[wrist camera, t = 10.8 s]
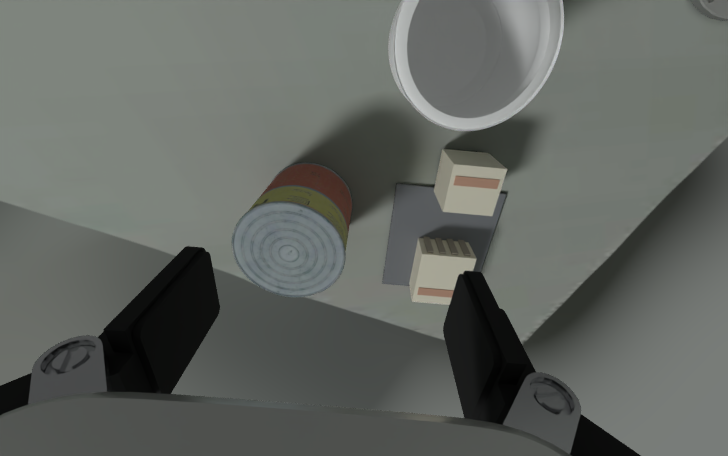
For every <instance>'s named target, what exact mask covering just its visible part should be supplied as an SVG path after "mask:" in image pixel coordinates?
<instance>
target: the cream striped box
mask: <svg viewBox="0 0 728 456" xmlns="http://www.w3.org/2000/svg"><path fill="white" fill-rule="evenodd" d="M476 260H477V258H476V256H475V254H474V252H473V250H472V248H471V246H470V244H469V242H465V241H464V240H458V241H453V239H446V240H441V238H435V239H430V237H423V238H418V242H417V247H416V252H415V257H414V262H413V267H412V272H411V277H410V282H409V285H410V291H411V298H412V302H422V303H434V304H446V305H450V302H451V299H452V295H453V292H454V288H455V285H456V281H457V278H458V275H459V274H463V273H464V271H473V269H474V266H475V263H476Z"/></svg>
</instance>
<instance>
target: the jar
mask: <svg viewBox="0 0 728 456" xmlns="http://www.w3.org/2000/svg"><path fill="white" fill-rule="evenodd" d="M563 28H564V8H563V0H402V1H401V3H400V4H399V6H398V8H397V11H396V13H395V16H394V18H393V22H392V25H391V29H390V35H389V46H388V51H389V62H390V67H391V71H392V74H393V77H394V79H395V82H396V84H397V86H398V87H399V89H400V91H401V92H402V94H403V95H404V96H405V97H406V99H407V100H408V101H409V102H410V103H411V104H412V106H413V107H414V108H415V109H416V110H417V111H418V112H419V113H420V114H421V115H422V116H424V117H425V118H426V119H428V120H429V121H431V122H432V123H434V124H436V125H438V126H441V127H443V128H447V129H450V130H456V131H476V130H482V129H486V128H489V127H492V126H495V125H497V124H500V123H502V122H504V121H505V120H507V119H509V118H511V117H512V116H514V115H515V114H516V113H518V112H519V111H520V110H521V109H523V108H524V107H525V106H526V105H527V104H528V103H529V102H530V101H531V100H532V99H533V98H534V97H535V95H536V94H537V93H538V92H539V90H540V89H541V88H542V86H543V85H544V83H545V82H546V80H547V78H548V76H549V75H550V73H551V71H552V69H553V66H554V64H555V62H556V59H557V56H558V53H559V50H560V46H561V42H562V36H563Z"/></svg>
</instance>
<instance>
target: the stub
mask: <svg viewBox="0 0 728 456" xmlns="http://www.w3.org/2000/svg"><path fill="white" fill-rule="evenodd" d="M506 172H507V168H505V167H504V166H503V165H502V164H501V163H500V162H498V161H497V160H496V159H495V158H494V157H493V156H491V155H490V154H489V153H483V152H472V151H461V150H450V149H442V154H441V158H440V163H439V168H438V173H437V178H436V182H435V187H434V193H435V195H436V198H437V200H438V202H439V204H440V207H441V209H442V211H443V212H450V213H461V214H472V215H483V216H493V213H494V209H495V206H496V203H497V200H498V197H499V194H500V191H501V188H502V184H503V181H504V178H505V175H506Z"/></svg>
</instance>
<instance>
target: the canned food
mask: <svg viewBox="0 0 728 456" xmlns="http://www.w3.org/2000/svg"><path fill="white" fill-rule="evenodd" d="M352 209H353V202H352V196H351V193H350V190H349V188H348V186H347V185H346V183H345V182H344V180H343V179H342V178H341V177H340V176H339V175H338V174H337V173H335V172H334V171H333V170H331V169H329V168H327V167H325V166H322V165H319V164H315V163H297V164H293V165H291V166H288V167H286V168H285V169H283V170H282V171H280V172H279V173H278V174H277V175H276V176H275V178H274V179H273V180H272V182H271V184H270V185H269V186H268V187H267V189H266V190H265V191H264V192H263V194H262V195H261V196H260V197H259V198H258V200H257V201H256V202H255V203H254V205H253V206H252V207H251V208H250V210H249V211H248V212H247V213H246V214H245V215H243V216H242V218H241V219H240V220H239V221H238V223H237V225H236V227H235V229H234V232H233V235H232V251H233V255H234V258H235V260H236V263H237V264H238V266H239V268H240V269H241V271H242V272H243V273H244V274H245V275H246V276H247V278H249V279H250V280H251V281H252V282H253V283H255V284H256V285H258V286H259V287H261V288H263V289H264V290H267V291H269V292H272V293H274V294H278V295H281V296H287V297H305V296H311V295H314V294H317V293H320V292H322V291H324V290H326V289H327V288H329V287H330V286H331V285H332V284H334V283H335V281H336V280H337V279H338V278H339V276H340V274H341V273H342V270H343V268H344V264H345V255H346V254H345V251H346V244H347V238H348V231H349V224H350V218H351V214H352Z"/></svg>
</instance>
